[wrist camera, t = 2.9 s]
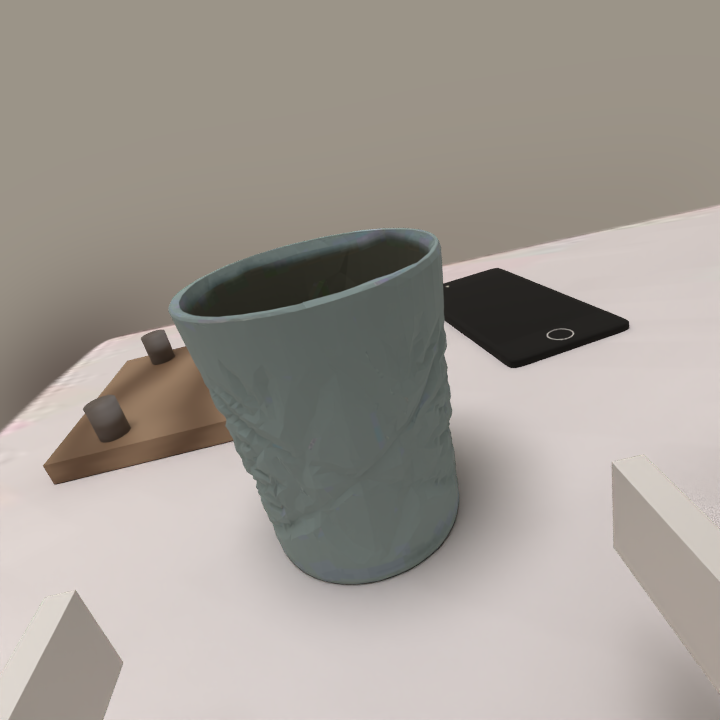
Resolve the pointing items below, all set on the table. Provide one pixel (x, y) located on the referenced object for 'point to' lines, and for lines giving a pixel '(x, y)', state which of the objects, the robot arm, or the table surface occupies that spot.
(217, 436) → the plate
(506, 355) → the cell phone
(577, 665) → the table surface
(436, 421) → the green cup
